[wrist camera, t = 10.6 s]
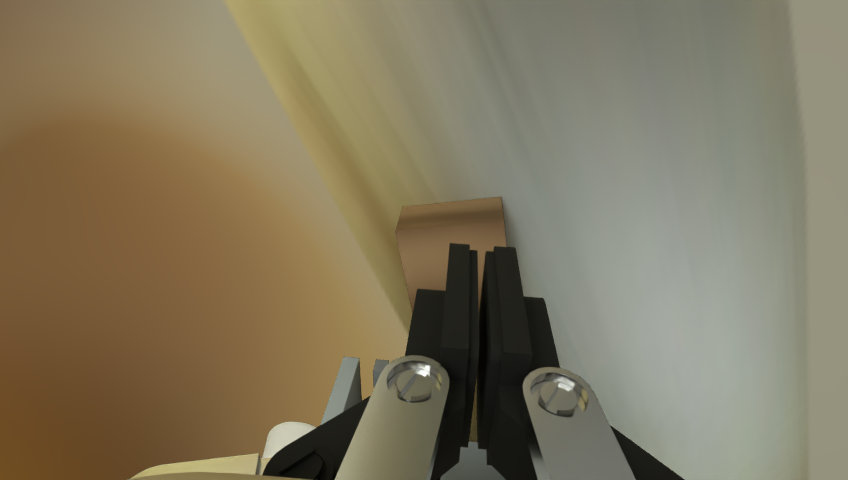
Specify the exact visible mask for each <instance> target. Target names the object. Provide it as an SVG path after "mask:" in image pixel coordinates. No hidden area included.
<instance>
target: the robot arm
mask: <svg viewBox="0 0 848 480" xmlns="http://www.w3.org/2000/svg"><path fill="white" fill-rule="evenodd" d="M476 376H477V443H478V449H485V450H486V459H487V465H491V466H492V467H494V468H495V469H496V470H497V471H498V472H499V473H500V474H501V475H502V476H503V477H504V478H505V480H684V479H683V478H681V477H680V476H679V475H677V474H676V473H675V472H673V471H672V470H670V469H669V468H668V467H666V466H665V465H664V464H662V463H661V462H660V461H658V460H657V459H655V458H654V457H653V456H651V455H650V454H649V453H647V452H646V451H645V450H643V449H642V448H640V447H639V446H638V445H636V444H635V443H634V442H632V441H631V440H630V439H628V438H627V437H625V436H624V435H623V434H621V433H620V432H619V431H617V430H616V429H615V428H613V427H612V426H610V424H609V422H608V420H607V418H606V416H605V414H604V412H603V410H602V408H601V406H600V404H599V401H598V399H597V397H596V395H595V393H594V391H593V390H592V389H591V387H590V386H589V384H588V383H587V382H585V381H584V380H583V379H582V378H581V377H580V376H578V375H576V374H574V373H572V372H571V371H568V370H564V369H561V368H560V366H559V361H558V357H557V353H556V348H555V344H554V339H553V335H552V331H551V326H550V322H549V317H548V313H547V308H546V304H545V301H544V299H543V298H535V297H523V291H522V285H521V279H520V273H519V266H518V260H517V254H516V249H515V248H514V247H500V246H494V250H493V251H486V253H485V262H484V271H483V280H482V289H481V298H480V307H479V301H478V251H477V250H470V244H457V243H450V245H449V256H448V268H447V279H446V291H444V290H431V289H417V292H416V298H415V303H414V309H413V314H412V320H411V325H410V331H409V337H408V342H407V348H406V353H405V356H403V357H400V358H398V359H395V360H393V361H392V362H390V363H389V364H388V365H386V366H385V368H384V369H383V371H382V372H381V374H380V376H379V378H378V381H377V383H376V385H375V388H374V390H373V392H372V395H371V396H369V397H368V398H366V399H364V400H363V401H361V402H359V403H357V404H356V405H354V406H352V407H351V408H349V409H347V410H346V411H344V412H342V413H340V414H339V415H337V416H335V417H334V418H332V419H330V420H329V421H327V422H325V423H324V424H322V425H320V426H318V427H317V428H315V429H313V430H312V431H310V432H308V433H307V434H305V435H303V436H302V437H300V438H298V439H296V440H295V441H293V442H291V443H290V444H288V445H286V446H285V447H283V448H282V449H281V450H279V451H278V452H277V453H276V454H274V456H273V457H271V458H262V459H260V456H259V453H257V454H249V455H240V456H232V457H224V458H215V459H207V460H198V461H190V462H182V463H173V464H165V465H159V466H155V467H152V468H148V469H146V470H144V471H143V472H141V473H139V474H137V475H136V476H134V477H132V478H131V479H129V480H442V475H444V474H445V473H446V472H447V471H449V470H450V469H451V468H452V467H454V466H455V465H456V464H457V463H459V459H460V449H461V447H465V448H468V443H469V435H470V426H471V418H472V409H473V401H474V393H475V384H476Z"/></svg>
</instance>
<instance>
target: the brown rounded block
mask: <svg viewBox="0 0 848 480" xmlns="http://www.w3.org/2000/svg"><path fill="white" fill-rule="evenodd" d="M395 233H396V237H397V242H398V247H399V252H400V256H401V261H402V266H403V270H404V275H405V280H406V285H407V289H408V294H409V299H410V304H411V308H412V313H413V309H414V303H415V298H416V292H417V289H431V290H444V291H446V279H447V268H448V256H449V245H450V243H457V244H470V250H477V251H478V301H479V307H480V298H481V289H482V280H483V271H484V262H485V253H486V251H493V250H494V246H500V247H506V238H505V225H504V216H503V208H502V200H501V197H493V198H483V199H473V200H464V201H454V202H444V203H435V204H425V205H415V206H406V207H403V208H402V211H401V214H400V218H399V221H398V224H397V227H396V231H395Z"/></svg>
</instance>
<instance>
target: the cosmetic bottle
mask: <svg viewBox="0 0 848 480" xmlns="http://www.w3.org/2000/svg"><path fill="white" fill-rule="evenodd" d="M315 428H317V427H315V426H313V425H310V424H307V423H303V422H295V421H292V422H284V423H281V424H278V425H276V426H275V427H273V428H272V429H271V431H270V432H269V434H268V437H267V442H266V446H265V450H264V454H263V457H262V458H271V457H273V456H274V454H276V453H277V452H278V451H279V450H281V449H282V448H283V447H285V446H286V445H288V444H290V443H291V442H293V441H295V440H296V439H298V438H300V437H302V436H303V435H305V434H307V433H308V432H310V431H312V430H313V429H315Z"/></svg>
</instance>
